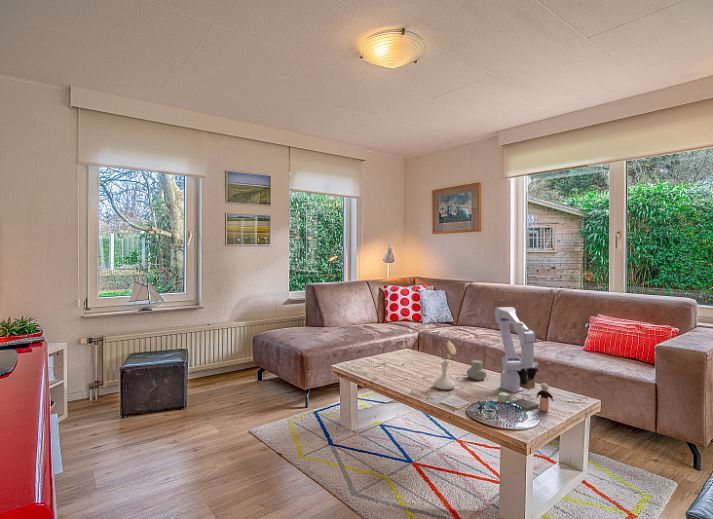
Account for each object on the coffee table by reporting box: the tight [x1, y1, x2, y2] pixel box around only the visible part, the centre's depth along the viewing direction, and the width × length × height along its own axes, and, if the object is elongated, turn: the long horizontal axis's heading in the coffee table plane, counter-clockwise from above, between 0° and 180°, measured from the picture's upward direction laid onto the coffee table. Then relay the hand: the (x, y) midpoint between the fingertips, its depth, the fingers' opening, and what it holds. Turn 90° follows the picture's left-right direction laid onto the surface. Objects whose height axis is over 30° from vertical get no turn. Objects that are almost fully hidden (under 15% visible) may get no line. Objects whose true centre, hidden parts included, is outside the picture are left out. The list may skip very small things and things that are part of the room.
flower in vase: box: [433, 340, 457, 390], centre depth 215 cm, size 13×11×25 cm
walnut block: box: [520, 377, 536, 391], centre depth 198 cm, size 5×5×4 cm
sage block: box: [497, 391, 511, 403], centre depth 194 cm, size 4×4×4 cm
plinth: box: [510, 398, 540, 412], centre depth 189 cm, size 9×9×2 cm
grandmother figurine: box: [535, 382, 555, 413], centre depth 183 cm, size 8×4×13 cm, turn 56°
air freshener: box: [466, 359, 487, 381], centre depth 231 cm, size 11×8×10 cm
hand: (526, 383), depth 198 cm, fingers closed on walnut block, 5 cm apart
